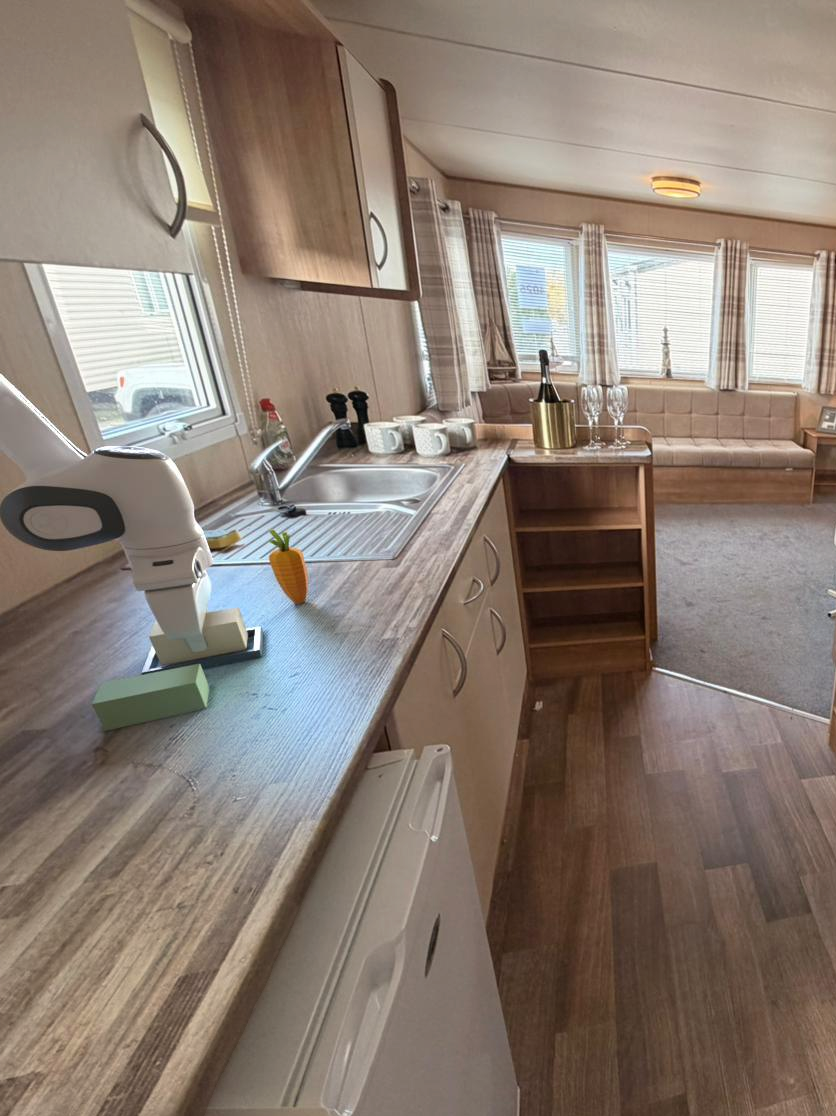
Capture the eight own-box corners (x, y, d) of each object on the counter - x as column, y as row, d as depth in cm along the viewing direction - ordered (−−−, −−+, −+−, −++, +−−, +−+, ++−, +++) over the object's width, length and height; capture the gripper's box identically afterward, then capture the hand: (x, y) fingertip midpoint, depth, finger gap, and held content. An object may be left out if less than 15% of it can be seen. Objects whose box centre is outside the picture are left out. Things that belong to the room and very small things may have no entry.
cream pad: (161, 666, 96) (148, 636, 94) (166, 649, 100) (154, 621, 98) (246, 649, 101) (236, 621, 99) (248, 634, 105) (238, 607, 103)
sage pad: (107, 736, 83) (91, 704, 81) (116, 713, 88) (101, 682, 85) (208, 713, 89) (195, 682, 87) (211, 692, 93) (200, 663, 91)
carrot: (320, 606, 120) (298, 531, 113) (288, 614, 116) (264, 536, 110) (313, 598, 123) (291, 524, 116) (281, 605, 119) (257, 529, 113)
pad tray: (146, 685, 94) (140, 672, 93) (155, 657, 101) (150, 645, 100) (263, 661, 101) (259, 649, 101) (264, 637, 108) (261, 626, 108)
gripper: (152, 540, 100) (183, 618, 106) (129, 585, 85) (167, 673, 91) (205, 534, 103) (232, 610, 109) (192, 576, 89) (224, 662, 94)
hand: (202, 639), depth 100 cm, fingers closed on cream pad, 6 cm apart
